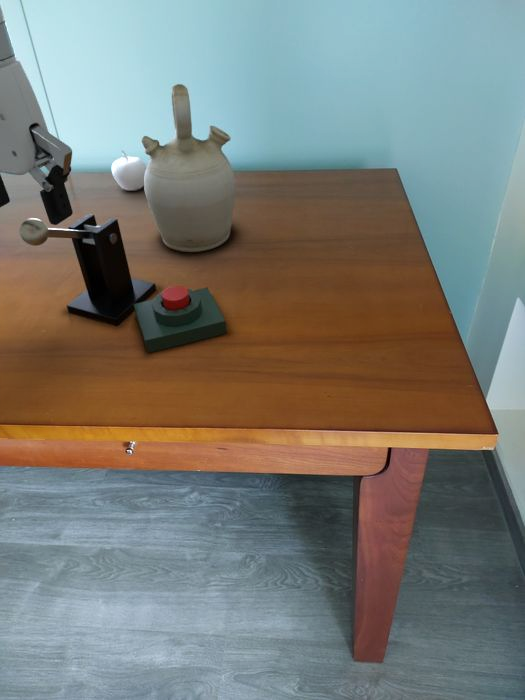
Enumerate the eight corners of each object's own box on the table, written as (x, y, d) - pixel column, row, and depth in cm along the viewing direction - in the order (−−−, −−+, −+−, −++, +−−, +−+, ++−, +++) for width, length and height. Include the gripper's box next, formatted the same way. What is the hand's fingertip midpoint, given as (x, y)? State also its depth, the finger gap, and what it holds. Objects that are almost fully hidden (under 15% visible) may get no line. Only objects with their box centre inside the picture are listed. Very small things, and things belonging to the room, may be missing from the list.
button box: (147, 353, 70) (142, 329, 67) (136, 316, 76) (130, 293, 74) (226, 333, 73) (224, 309, 70) (208, 299, 79) (206, 276, 77)
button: (166, 313, 70) (164, 303, 69) (161, 299, 73) (159, 289, 72) (192, 307, 71) (191, 296, 70) (186, 294, 74) (184, 283, 73)
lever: (33, 247, 61) (34, 219, 60) (12, 242, 62) (13, 215, 62) (111, 248, 74) (113, 225, 73) (92, 244, 75) (94, 222, 74)
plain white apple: (118, 182, 115) (110, 145, 110) (151, 180, 116) (144, 143, 110) (113, 195, 110) (104, 157, 105) (147, 193, 110) (140, 155, 105)
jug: (243, 216, 100) (234, 71, 84) (232, 258, 88) (219, 98, 72) (164, 216, 101) (140, 73, 85) (144, 257, 90) (111, 100, 74)
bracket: (117, 325, 75) (96, 245, 67) (68, 312, 78) (41, 233, 70) (156, 289, 82) (141, 212, 74) (109, 278, 85) (90, 203, 77)
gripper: (-125, 52, 51) (-49, 215, 62) (8, 61, 45) (66, 240, 56) (-60, 36, 56) (-1, 190, 67) (67, 43, 50) (109, 210, 61)
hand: (29, 213), depth 62 cm, fingers open, 9 cm apart
